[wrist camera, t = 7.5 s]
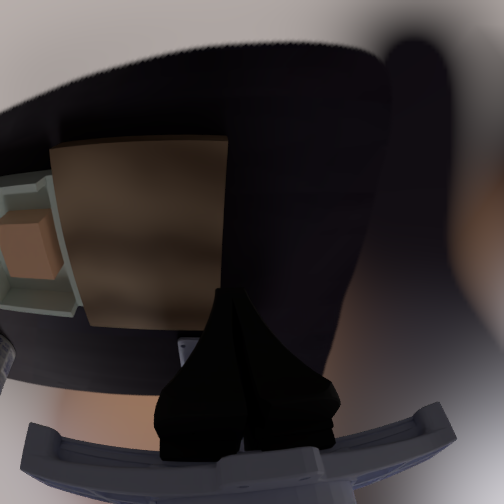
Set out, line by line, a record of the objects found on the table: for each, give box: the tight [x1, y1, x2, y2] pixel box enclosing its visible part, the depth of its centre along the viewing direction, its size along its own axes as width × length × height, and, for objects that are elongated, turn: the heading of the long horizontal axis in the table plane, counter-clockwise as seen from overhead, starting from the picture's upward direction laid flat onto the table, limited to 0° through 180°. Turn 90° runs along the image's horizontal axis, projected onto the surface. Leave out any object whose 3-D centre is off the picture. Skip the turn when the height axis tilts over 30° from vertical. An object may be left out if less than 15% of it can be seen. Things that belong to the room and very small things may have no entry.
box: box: [0, 170, 83, 317], centre depth 19 cm, size 12×10×3 cm
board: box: [49, 135, 228, 330], centre depth 21 cm, size 16×12×2 cm
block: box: [0, 208, 64, 280], centre depth 19 cm, size 5×5×2 cm
